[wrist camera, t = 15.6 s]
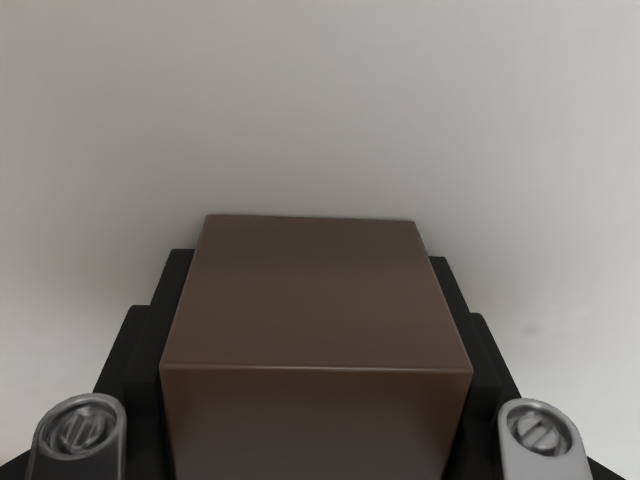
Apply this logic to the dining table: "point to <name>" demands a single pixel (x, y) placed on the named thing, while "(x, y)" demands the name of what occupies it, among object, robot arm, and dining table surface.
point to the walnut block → (312, 354)
